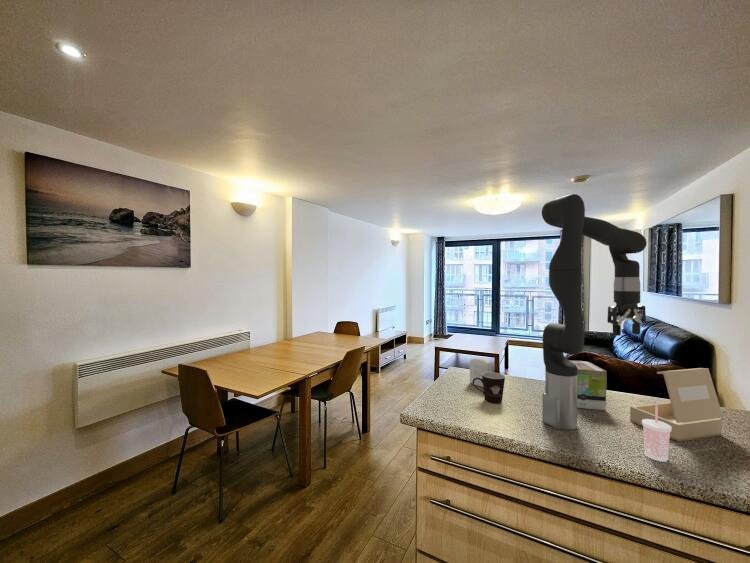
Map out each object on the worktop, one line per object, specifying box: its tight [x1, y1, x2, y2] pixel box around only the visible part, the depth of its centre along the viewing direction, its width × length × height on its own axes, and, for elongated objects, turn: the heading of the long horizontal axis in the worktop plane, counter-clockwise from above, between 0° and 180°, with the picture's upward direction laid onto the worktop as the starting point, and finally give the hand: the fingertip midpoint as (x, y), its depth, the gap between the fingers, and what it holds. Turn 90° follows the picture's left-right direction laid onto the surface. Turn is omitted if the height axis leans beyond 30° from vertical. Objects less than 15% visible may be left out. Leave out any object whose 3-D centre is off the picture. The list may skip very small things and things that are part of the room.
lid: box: [656, 367, 724, 423], centre depth 99 cm, size 18×15×2 cm
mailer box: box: [629, 401, 723, 443], centre depth 103 cm, size 18×14×5 cm
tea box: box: [568, 359, 608, 411], centre depth 124 cm, size 15×10×15 cm, turn 168°
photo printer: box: [469, 357, 493, 388], centre depth 143 cm, size 10×4×12 cm, turn 36°
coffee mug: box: [471, 371, 506, 405], centre depth 126 cm, size 12×9×10 cm
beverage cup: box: [642, 405, 672, 462], centre depth 86 cm, size 6×6×14 cm
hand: (626, 334), depth 114 cm, fingers open, 8 cm apart
